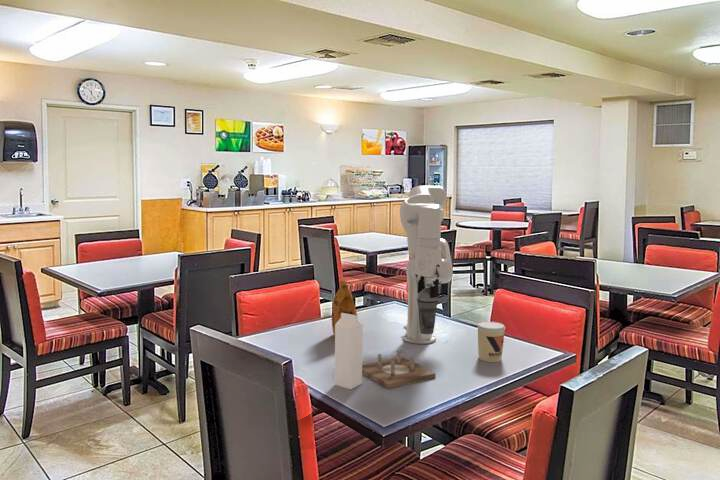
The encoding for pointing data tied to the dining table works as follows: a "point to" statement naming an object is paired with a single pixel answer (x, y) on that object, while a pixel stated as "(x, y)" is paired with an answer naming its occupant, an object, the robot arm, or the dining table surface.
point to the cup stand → (396, 371)
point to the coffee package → (342, 304)
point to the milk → (348, 351)
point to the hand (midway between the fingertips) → (427, 294)
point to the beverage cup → (426, 310)
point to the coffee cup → (490, 341)
